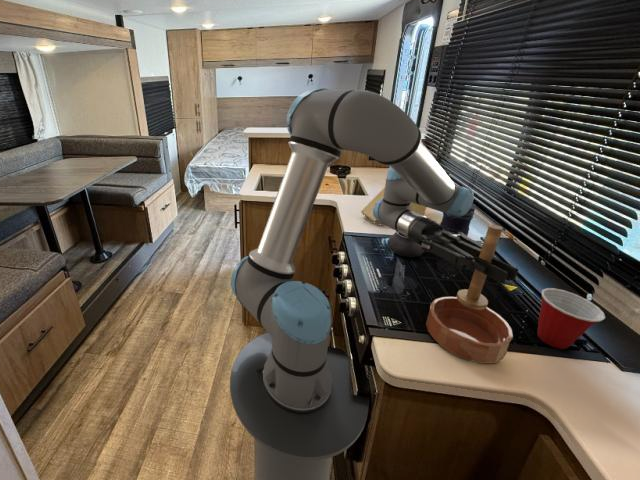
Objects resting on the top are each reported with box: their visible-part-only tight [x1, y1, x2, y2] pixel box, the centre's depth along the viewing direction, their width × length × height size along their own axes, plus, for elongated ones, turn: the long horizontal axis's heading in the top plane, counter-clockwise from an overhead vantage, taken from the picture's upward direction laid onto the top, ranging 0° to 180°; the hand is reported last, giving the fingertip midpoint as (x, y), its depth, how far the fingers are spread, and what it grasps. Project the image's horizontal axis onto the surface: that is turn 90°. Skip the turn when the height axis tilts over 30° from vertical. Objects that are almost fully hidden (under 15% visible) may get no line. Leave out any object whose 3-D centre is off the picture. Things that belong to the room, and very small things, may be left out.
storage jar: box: [439, 202, 477, 237], centre depth 122 cm, size 10×10×15 cm
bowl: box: [425, 296, 514, 364], centre depth 77 cm, size 17×17×6 cm
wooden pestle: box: [456, 224, 504, 310], centre depth 70 cm, size 6×6×20 cm
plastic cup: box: [536, 287, 606, 350], centre depth 74 cm, size 11×11×12 cm
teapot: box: [386, 230, 425, 258], centre depth 117 cm, size 19×15×10 cm
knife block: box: [360, 149, 451, 226], centre depth 137 cm, size 11×35×31 cm, turn 103°
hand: (510, 276), depth 65 cm, fingers closed on wooden pestle, 2 cm apart
